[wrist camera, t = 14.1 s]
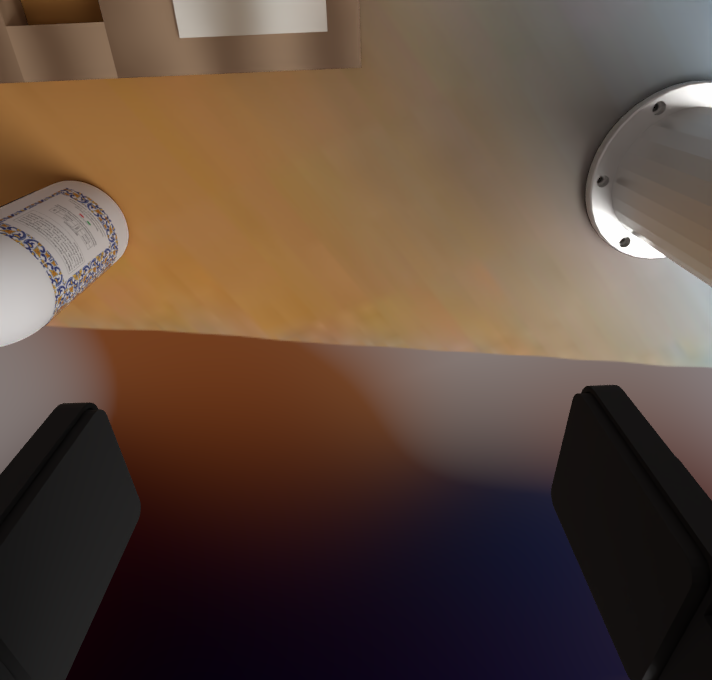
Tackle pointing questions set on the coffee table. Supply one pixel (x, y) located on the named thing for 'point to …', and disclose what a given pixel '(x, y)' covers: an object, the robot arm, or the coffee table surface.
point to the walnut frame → (182, 39)
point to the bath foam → (54, 252)
